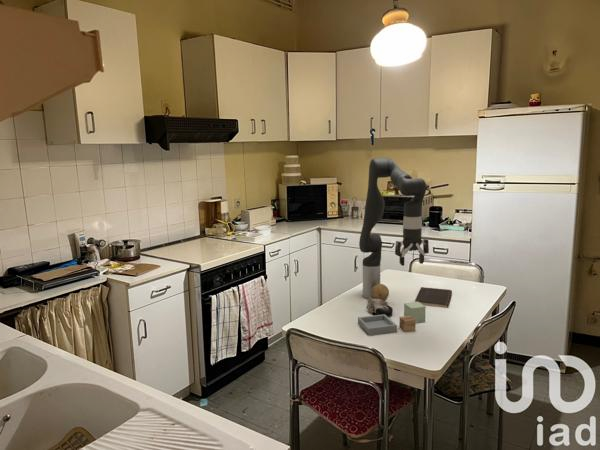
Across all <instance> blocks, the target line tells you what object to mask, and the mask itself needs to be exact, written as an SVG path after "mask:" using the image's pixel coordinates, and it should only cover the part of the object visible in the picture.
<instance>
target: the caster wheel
mask: <svg viewBox="0 0 600 450" xmlns="http://www.w3.org/2000/svg"><path fill="white" fill-rule="evenodd" d="M367 299H368V298H367ZM366 310H367V311H368V313H369V314H370V316H373V313H375V315H376V314H377V315H383V314H385V315H386V316H387V317H388V318H390V317H392V315H393V313H394V310H393V307H392V306H390V305H388V304H386V301H383V300H381V299H371V297H370V296H369V299H368V300H367V304H366Z"/></svg>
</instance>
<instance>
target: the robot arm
mask: <svg viewBox="0 0 600 450" xmlns="http://www.w3.org/2000/svg"><path fill="white" fill-rule="evenodd" d="M369 162H370V163H369V167H368V182H367V185H368V186H367V194H366V199H365V207H364V215H363V223H362V227H361V232H360V236H359V242H358V243H359V244H358V245H359V246H358V247H359V250H360V252H361V253H366V254H367V253H370V255H367V256H366V257H364V258H363V259H362V297H363V298H365V299H369V296H370V297H371V290H372V288H373V287H374V286H375V285H377V284H381V260H382V249H383V248H382V247H383V245H382V242H383V241H382V238H381V235H380V234H378V233H371V232H372V231H373V229H374V227H375V226H376V225H377V224H378V222H380V220H381V219H382V217H383V215H384V212H385V211H384V210H385V204H386V203H385V202H386V201H385V199H384V197H383V194H382V193H381V191H380V189H379V186H378V179H380V178H384V179H385V178H388V177H389V178H390V181H391V183H392V184H393V185H394V186H395V187H396V188H397V189H398V191H399V193H400V194H401V195H402V196H403V197H413V198H412V199H411V200H409V201H406V202H405V203H404V204H403V220H402V221H403V222H402V238H403V239H402V241H398V240H396V241H395V249H394V254H395V255H396V256H398V257H399V261H398V262H399V264H400V265H401V266H403V267H404V266H405V255H406V254H407V253H408V252H412V251H415V252H416V251H417V252H418V253H419V255H418V263H419V264H420V265H424V264H423V263H424V262H425V255H427V254H429V252H430V251H429V250H430V248H429V247H430V246H429V240H428V239H427V238H423V239H422V234H423V233H422V231H423V230H422V228H423V224H422V223H423V222H422V221H423V220H422V206H423V202H424V199H425V195H426V191H427V183H426V181H425V180H424V179H423V178H421V177H420V178H413V177H412V176H411V175H410V174H409V173H407V172H405V171H404V170H403V169H401V168H400V167H399V166H398V164H397V163H396V162H395V161H394V160H393V159H392V158H391V157H378V158H377V157H376V158H375V157H374V158H372V159H371V160H370V161H369ZM421 245H422V247H423V248H422V247H421ZM401 247H402V248H401ZM371 299H372V297H371Z"/></svg>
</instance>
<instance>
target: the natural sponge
mask: <svg viewBox="0 0 600 450" xmlns="http://www.w3.org/2000/svg"><path fill="white" fill-rule="evenodd" d="M389 294H390V290H389V288H388V286H387V285H385V284H383V283H380V284H377V285H375V286H374V287H373V288H372V290H371V297H372V299H381V300H383V301H384V302H386V301H387V299H388V297H389Z"/></svg>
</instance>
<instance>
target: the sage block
mask: <svg viewBox="0 0 600 450" xmlns="http://www.w3.org/2000/svg"><path fill="white" fill-rule="evenodd" d="M403 316H411V317H413V318H414V319H415V323H421V322H422V323H424V322H426V305H422V304H421V303H420V302H415V301H412V302H404V304H403Z"/></svg>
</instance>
